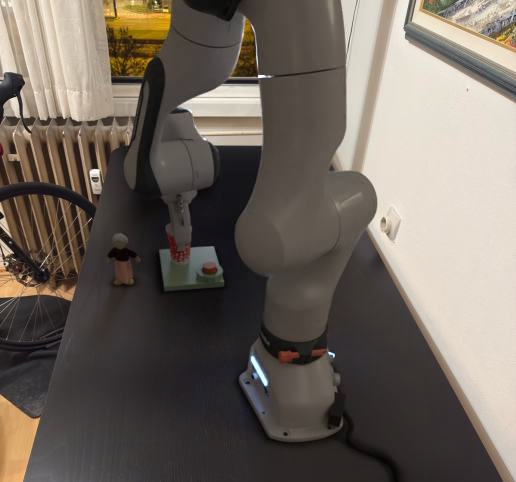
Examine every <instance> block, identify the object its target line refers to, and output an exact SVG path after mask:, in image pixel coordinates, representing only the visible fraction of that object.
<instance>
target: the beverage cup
mask: <svg viewBox="0 0 516 482" xmlns="http://www.w3.org/2000/svg"><path fill="white" fill-rule="evenodd" d="M192 232H193V227H192V226H191V233H192ZM165 233H166V234H167V241H168V249H170V256H171V261H172V263H173V264H175V265H186V264H188V263H189V262H190V248H191V243H190V244H185V246H186V249H185V251H178V247H177V244H175V241H174V236H173V230H172V225H171V222H169V223H168V224H166V226H165Z"/></svg>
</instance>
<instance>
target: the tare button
mask: <svg viewBox="0 0 516 482" xmlns="http://www.w3.org/2000/svg"><path fill="white" fill-rule="evenodd" d="M203 273H204V274H208V275H211V274H215V273H216V263H214V262H211V261H208V262H205V263H204V264H203Z"/></svg>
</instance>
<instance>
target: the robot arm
mask: <svg viewBox="0 0 516 482" xmlns="http://www.w3.org/2000/svg"><path fill="white" fill-rule="evenodd" d="M170 5H171V6H170V17H169V27H168V32H167V35H166V37H165V39H164V42H163V43H162V46H161V48H160V49H159V51H158V52H157V54H156V55H155V56H154V57H153V58H151V59H150V60H149V61H148V62H147V64H146V66H145V69H144V71H143V76H142V80H141V85H140V88H139V93H138V100H137V105H136V108H135V109H136V111H135V115H134V121H133V125H132V130H131V135H130V140H129V143H128V147H127V150H126V152H125V154H124V158H123V159H124V160H123V174H124V178H125V182H126V184H127V187H128V189H129V190H130V191H131V192H132V193H133V194H135V195H136V196H138V197H140V198H142V199H144V200H145V201H151V200H154V199H158V198H160V199H162V200H163V202H164V203H165V204H166V205H167V208H168V212H169V219H170V223H171V225H172V230H173V236H174V241H175V244H177V247H178V251H185V249H186V246H185V244H190V245H191V243H192V232H191V227H192V224H191V213H190V208H189V204H191V203H192V201H193V200H194V198H196V197H197V194H198V190H203V189H207V188H210V187H213V185H214V184H215V183H216V181H217V180H218V177H219V175H220V172H221V171H220V170H221V161H220V159H221V158H220V152H219V150H218V149H217V147H216V146H215V145H214V144H213V143H212V142H211V141H210V140H208V139H207V138H205V137H204V136H202V134H201V133H200V132H199V129H198V127H197V126H196V123H195V119H194V114H193V112H192V110H191V109H188V108H186V107H181V105H183V104H184V103H186V102H188V101H190V100H193V99H195V98H196V97H199V96H201V95H204V94H206V93H209V92H212V91H215V90H216V89H217V88H219V87H221V86H222V85H223V84H225V82H226V81H228V80H229V78H230V77H231V76H232V75H233V73H234V71H235V69H236V67H237V64H238V61H239V57H240V53H241V48H242V44H243V39H244V32H245V26H246V25H245V24H246V19H247V21H248V22H249V23H250V25H251V27H252V30H253V33H254V38H255V47H256V49H255V50H256V51H255V52H256V67H257V75H258V76H257V78H258V89H259V101H260V114H261V116H260V117H261V129H262V131H261V132H262V143H261V154H260V161H259V166H258V170H257V176H256V180H255V183H254V186H253V190H252V193H251V196H250V198H249V200H248V202H247V204H246V205H245V207H244V210H242V213H241V214H240V215H239V216H238V218H237V220H236V223H235V227H234V244H235V248H236V251H237V253H238V255H239V257H240V259H241V261H242V262H243V263H244V264H245V266H246V267H247V268H248V269H249V270H251V271H252V272H253V273H255V274H256V275H259V276H261V277H264V278H268V279H267V281H266V287H265V297H264V307H263V312H262V314H261V317H260V321H259V327H258V329H259V330H258V331H259V334H258V335H259V336H258V338H257V339H256V340H255V341H254V343H253V344H252V345H251V347H250V349H249V355H248V362H247V368H246V370H245V371H244V372H242V373H241V374H240V375H239V377H238V384H239V386H240V387H241V389H242V392H243V393H244V395H245V396H246V398H247V400H248V402H249V404H250V406H251V408H252V409H253V411H254V413H255V415H256V417H257V419H258V420H259V423H260V424H261V426H262V428H263V430H264V432H265V433H266V435H267V436H268V438H270V439H272V440H275V441H279V442H285V443H303V442H311V441H317V440H321V439H325V438H327V437H330V436H332V435H334V434H335V433H337V432H339V431H340V430H341V429H342V428H343V426H344V419H345V421H346V423H347V427H348V428H347V430H346V434H345V438H346V441H347V442H348V443H349V445H350V446H351V447H352V448H353V449H355V450H356V451H359V452H361V453H363V454H366V455H369V456H372V457H376V458H379V459H381V460H383V461H386V462H387V463H388V464H389V465H390V466H391V467H392V469H393V471H394V473H395V477H396V482H403V481H404V480H403V473H402V470H401V468H400V466H399V465H398V462H397V461H396V460H394V459H395V458H392V457H391V456H390V455H388V454H386V453H384V452H381V451H378V450H374V449H371V448H369V447H365V446H362V445H360V444H359V443H357V442H356V441H355V440H354V438H353V433H354V430H355V424H354V420H353V418H352V417H351V415H350V414H349V412H348V411H347V410H346V409H344V408H345V402H346V397H347V394H346V393H341V392H338V388H337V387H339V386H340V385H341V374H340V373H339V372H334V368H333V366H332V365H331V363H332V362H334V360H335V359H334V358H335V353H333V352H330V351H329V345H328V343H329V342H328V341H329V324H328V323H329V321H328V320H329V315H330V310H331V306H332V302H333V299H334V294H335V291H336V288H337V286H338V284H339V281H340V279H341V277H342V274H343V272H344V271H345V268H346V266H347V264H348V262H349V260H350V258H351V256H352V254H353V251H354V250H355V248H356V246H357V243H358V242H359V240H360V239H361V236H362V235H363V233H364V232H365V231H366V229H367V228H368V227H369V225H370V224H371V223H372V221H373V220H374V219H375V217H376V214H377V211H378V195H377V191H376V189H375V186H374V185H373V183H372V182H371V179H369V178H368V176H366V175H364V174H363V173H362V172H360V171H357V170H354V169H341V170H331V171H330V168H331V165H332V162H333V160H334V157H335V155H336V153H337V151H338V149H339V148H340V147H341V145H342V143H343V141H344V139H345V137H346V133H347V127H348V122H347V121H348V109H347V108H348V107H347V104H348V103H347V102H348V101H347V100H348V98H347V92H348V91H347V90H348V89H347V88H348V87H347V45H346V44H347V43H346V30H345V21H344V13H343V6H342V0H171V4H170ZM343 418H344V419H343Z"/></svg>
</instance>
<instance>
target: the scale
mask: <svg viewBox="0 0 516 482" xmlns="http://www.w3.org/2000/svg"><path fill="white" fill-rule="evenodd" d="M158 254H159V261H160V268H161V276H162V283H163V291H164V292H174V291H175V292H176V291H185V290H186V291H187V290H188V291H189V290H196V289H197V290H199V289H210V288H224V287H225V280H224V269H223V267H222V266H221V265H220V263H219V259H218V256H217V253H216V249H215V246H212V245H211V246H196V247H190V262H189V263H188V264H186V265H175V264H173V263H172V261H171V256H170V249H169V248H165V249H158ZM208 261H211V262H214V263H216V273H215V274H211V275H208V274H204V273H203V264H204V263H205V262H208Z"/></svg>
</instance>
